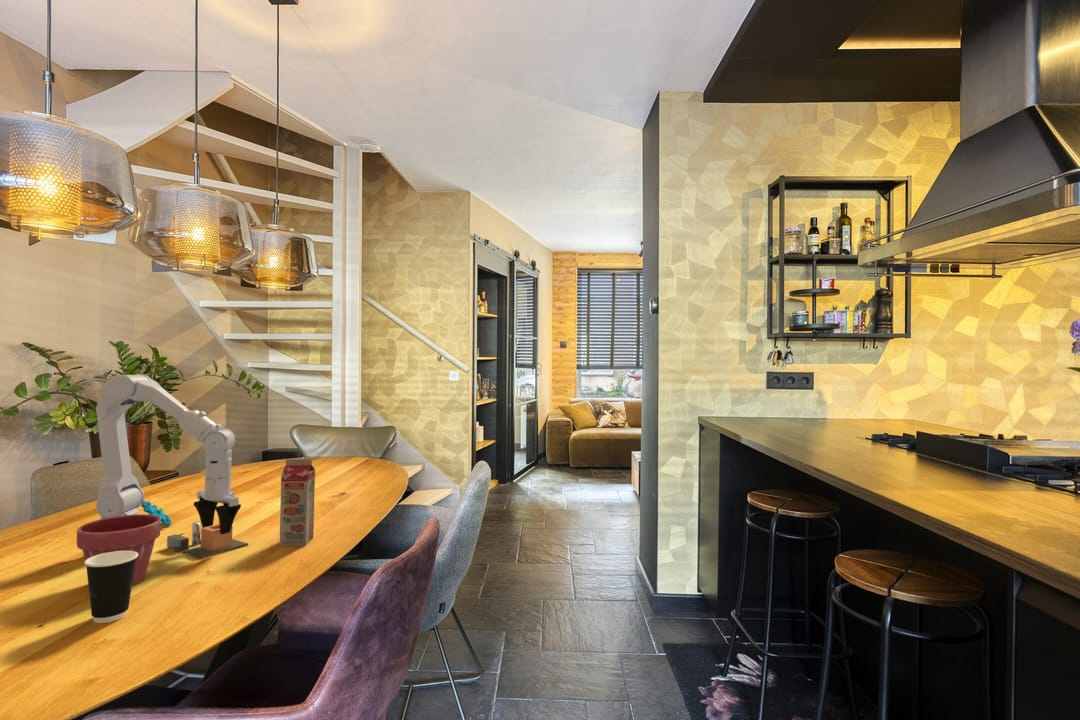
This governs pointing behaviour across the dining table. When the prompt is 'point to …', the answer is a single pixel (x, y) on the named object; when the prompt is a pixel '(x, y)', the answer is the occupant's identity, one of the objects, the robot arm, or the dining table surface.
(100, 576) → the dixie cup
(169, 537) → the vise
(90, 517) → the dining table surface
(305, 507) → the juice carton
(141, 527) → the plant pot
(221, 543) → the collar
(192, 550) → the panel
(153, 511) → the gear
